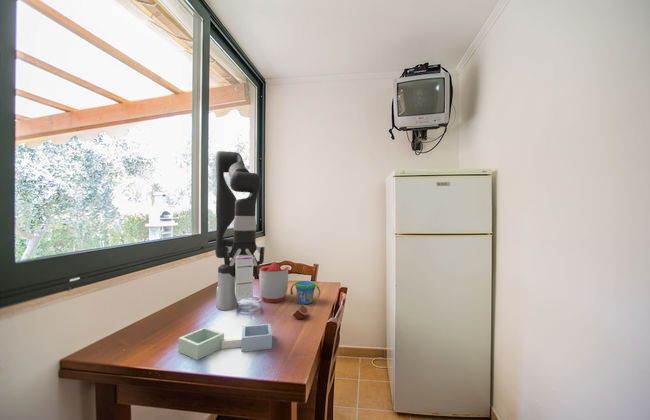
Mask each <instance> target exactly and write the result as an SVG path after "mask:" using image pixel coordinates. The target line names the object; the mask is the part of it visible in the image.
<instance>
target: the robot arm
mask: <svg viewBox="0 0 650 420" xmlns="http://www.w3.org/2000/svg"><path fill="white" fill-rule="evenodd" d="M214 158H215V160H214V162H215V182H216V196H215V197H216V198H215V220H216V230H215V248H214V249H215V250H214V252H215V253H214V254H215V256H216V258H218V259H223V262H224V264H221V265H219V266H218V268H217V287H216V295H215V296H216V298H215V300H216V301H215V304H216V305H215V307H216V308H217V310H220V311H231V310H234V309H236V308H237V307H238V302H239V301H238V300H239V299H236V296H235V261H236V256H238V255H253V278H255V277H257V275H258V274H259V266H260V265H263V263H264V261H265V260H264V259H265V249H266V248H265V246H257V240H256V239H257V237H256V236H257V221H256V220H257V219H256V208H257V200H258V196H259V192H260V189H261V187H262V186H261V185H262V177H260V175H259V174H258V173H254V172H250V171H249V169H248V168H247V167H246V166H245V162H244V160H243V157H242V155H241V154H240V153H239V152H236V151H226V150H225V151H223V150H221V151H220V150H219V151H216V154H215V157H214ZM225 173H228V176H229V178H230V179H229V185H228V183H227V181H226V178H225V175H224V174H225ZM233 191H234V192H237V193H248V197H245V198H238V199H237V198H236V196H235V194H234V193H233ZM232 223H233V238H224V236H225V233H226V232H227V230H228V228H229V226H230V225H231V224H232ZM255 252H257V253H258V254H259V259H257V257H256V255H255Z"/></svg>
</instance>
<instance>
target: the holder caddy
mask: <svg viewBox="0 0 650 420" xmlns="http://www.w3.org/2000/svg"><path fill="white" fill-rule="evenodd" d="M177 343H178V344H177V345H178V346H177V348H178V350H177V351H178V353H180V354H182V355H185V356H187V357H190V358H192V359H194V360H196V361H198V359H199V360H201V359H202V357H203V358H204V356H205V357H206V356H209V355H210V354H212V353H215V352H217V351H218V350H220V349H221V350H225V349H234V348H241V350H240V351H241V353H243V352H244V353H245V352H251V351H261V350H270V349H273V332H272V326H271V323H261V324H260V323H259V324H250V325H249V324H248V325H242V329H241V335H236V336H235V335H234V336H226V337H225V333H223V332H221V331H218V330H215V329H212V328H209V327H202V328H200V329H197V330H195V331H192V332H189V333H187V334H184V335H183V336H182V335H181V336H180V337H178V342H177ZM200 358H201V359H200Z"/></svg>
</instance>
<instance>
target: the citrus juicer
mask: <svg viewBox="0 0 650 420" xmlns="http://www.w3.org/2000/svg"><path fill="white" fill-rule="evenodd" d="M289 269H290V268H289V266H285V267H284V269H281V267H280V265H279V264H277V262H272V263H271V264H270V265H264V266H261V267H258V271H259V279H258V280H259V293H260V297H261V299H262V301H263V302H266V303H272V304H274V303H279V302H283V301H284V300H285V299H286V297H287V293H288V288H289Z"/></svg>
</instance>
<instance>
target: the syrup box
mask: <svg viewBox="0 0 650 420" xmlns="http://www.w3.org/2000/svg"><path fill="white" fill-rule="evenodd" d="M253 266H254V264H253V255H238V256H236V261H235V296H236V299H238V300H239V299H247V298H248V299H250V298H253V297H254V277H253Z"/></svg>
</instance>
